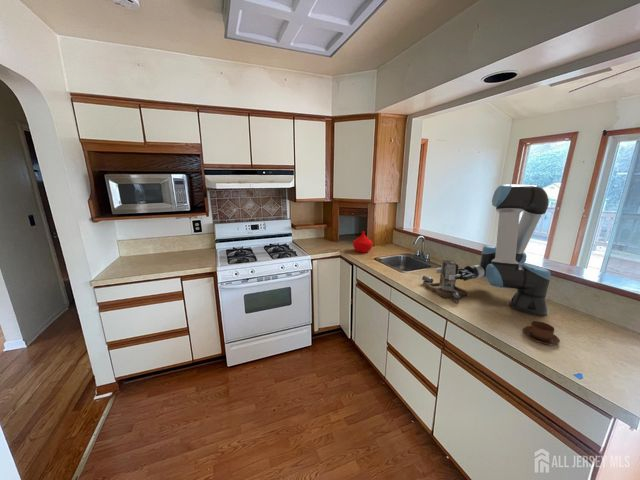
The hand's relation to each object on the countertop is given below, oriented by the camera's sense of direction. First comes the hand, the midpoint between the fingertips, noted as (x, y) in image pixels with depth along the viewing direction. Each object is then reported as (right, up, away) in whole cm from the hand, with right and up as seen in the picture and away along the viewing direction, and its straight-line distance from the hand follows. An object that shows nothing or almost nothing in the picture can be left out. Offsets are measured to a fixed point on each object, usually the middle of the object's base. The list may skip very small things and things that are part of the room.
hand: (442, 274), depth 147 cm
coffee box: (+4, -9, +3) cm, 10 cm away
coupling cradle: (+4, -11, +4) cm, 12 cm away
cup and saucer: (+21, -22, -41) cm, 51 cm away
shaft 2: (+3, -14, -9) cm, 16 cm away
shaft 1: (-3, -9, +14) cm, 16 cm away
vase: (-32, +9, +89) cm, 95 cm away
